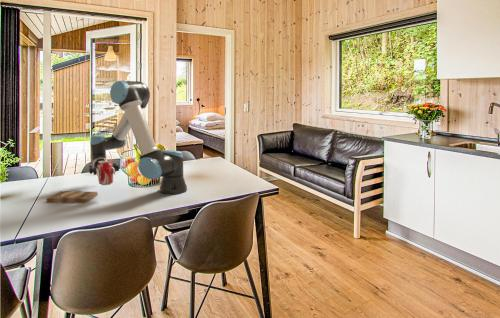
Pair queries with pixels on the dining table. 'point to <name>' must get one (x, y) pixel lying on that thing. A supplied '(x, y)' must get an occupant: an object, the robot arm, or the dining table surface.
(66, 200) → the drinks board
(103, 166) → the soda can
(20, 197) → the dining table surface
